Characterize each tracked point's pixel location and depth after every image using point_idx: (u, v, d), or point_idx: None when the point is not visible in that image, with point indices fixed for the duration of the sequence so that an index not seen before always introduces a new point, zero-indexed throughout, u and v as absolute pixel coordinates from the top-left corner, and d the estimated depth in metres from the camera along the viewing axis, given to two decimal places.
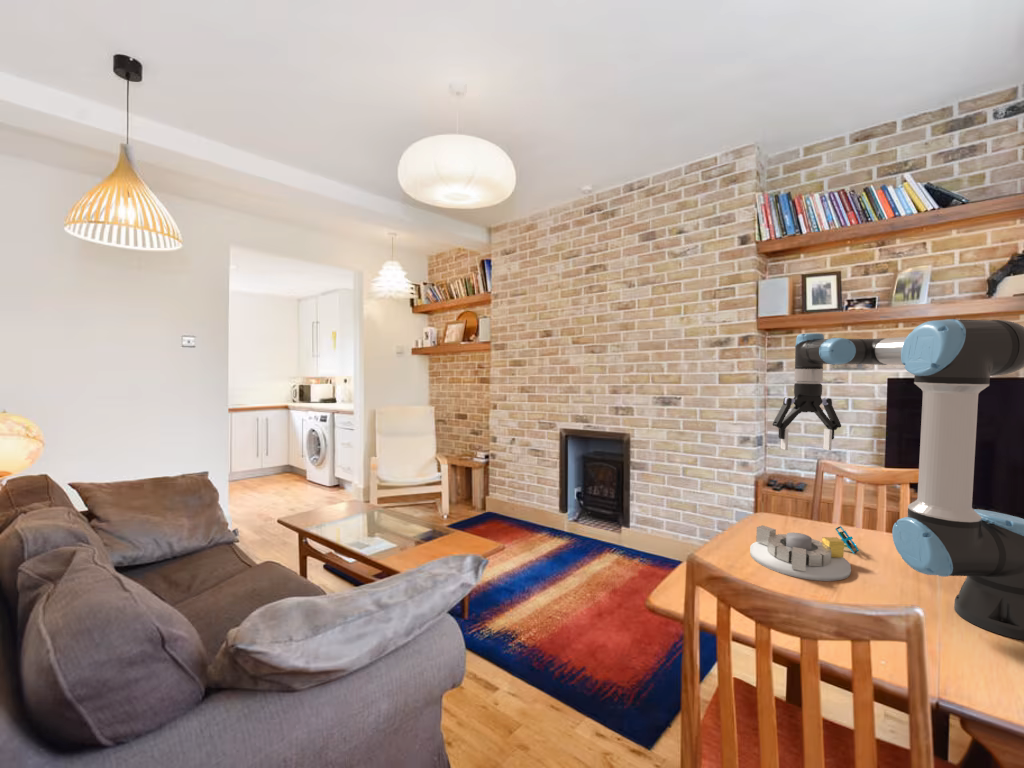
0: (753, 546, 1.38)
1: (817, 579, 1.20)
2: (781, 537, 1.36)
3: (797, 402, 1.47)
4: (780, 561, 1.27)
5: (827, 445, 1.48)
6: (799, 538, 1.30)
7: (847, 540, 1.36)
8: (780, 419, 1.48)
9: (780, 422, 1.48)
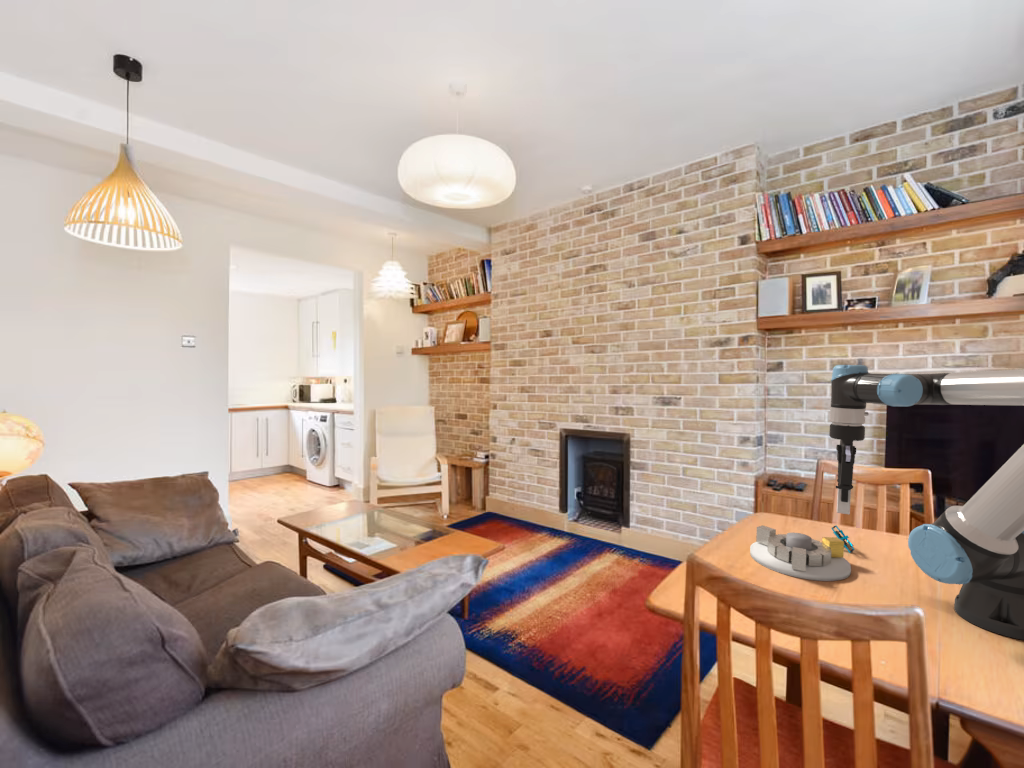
0: (753, 546, 1.38)
1: (817, 579, 1.20)
2: (781, 537, 1.36)
3: None
4: (780, 561, 1.27)
5: None
6: (799, 538, 1.30)
7: (843, 539, 1.36)
8: (838, 473, 1.27)
9: (838, 476, 1.26)
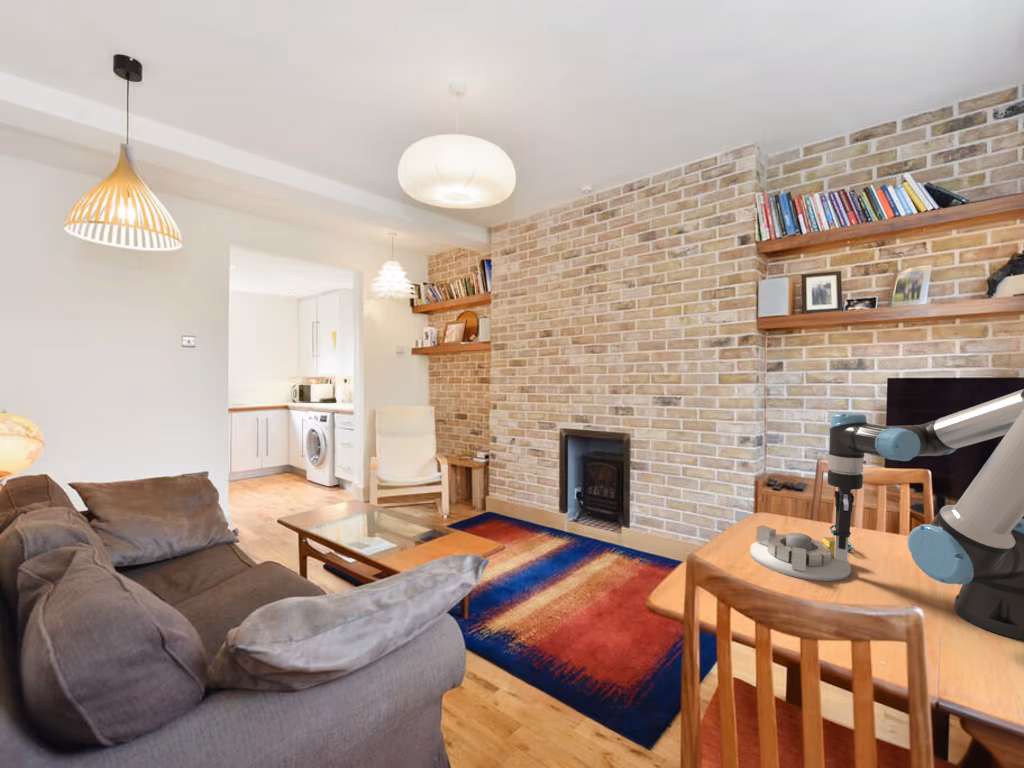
0: (753, 546, 1.38)
1: (817, 579, 1.20)
2: (781, 537, 1.36)
3: None
4: (780, 561, 1.27)
5: None
6: (799, 538, 1.30)
7: None
8: None
9: None
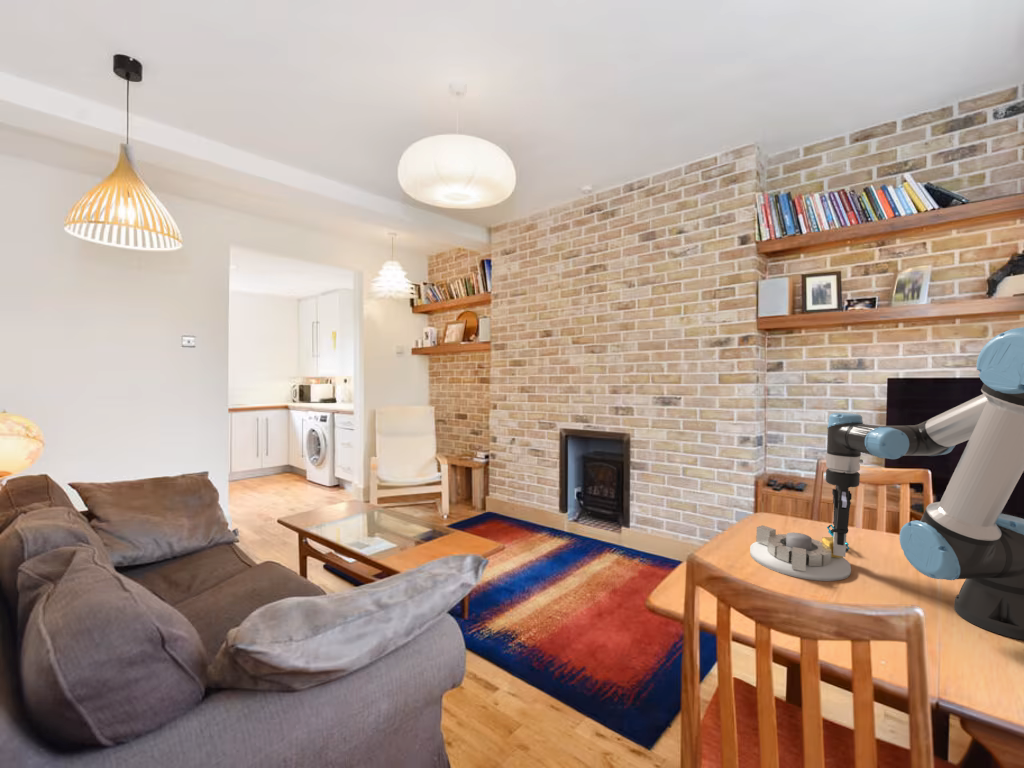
0: (753, 546, 1.38)
1: (817, 579, 1.20)
2: (781, 537, 1.36)
3: None
4: (780, 561, 1.27)
5: None
6: (799, 538, 1.30)
7: None
8: None
9: (833, 519, 1.32)
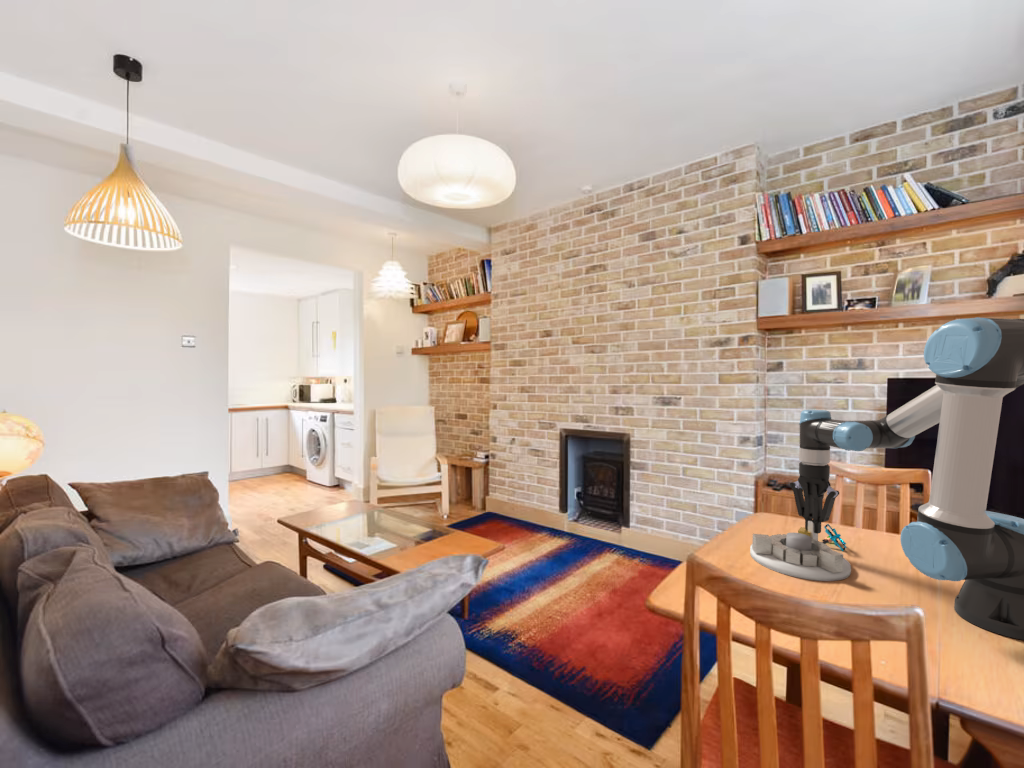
0: None
1: (817, 579, 1.20)
2: (777, 541, 1.33)
3: (800, 483, 1.39)
4: (780, 561, 1.27)
5: None
6: (799, 538, 1.30)
7: (837, 538, 1.38)
8: (797, 507, 1.40)
9: (800, 510, 1.39)
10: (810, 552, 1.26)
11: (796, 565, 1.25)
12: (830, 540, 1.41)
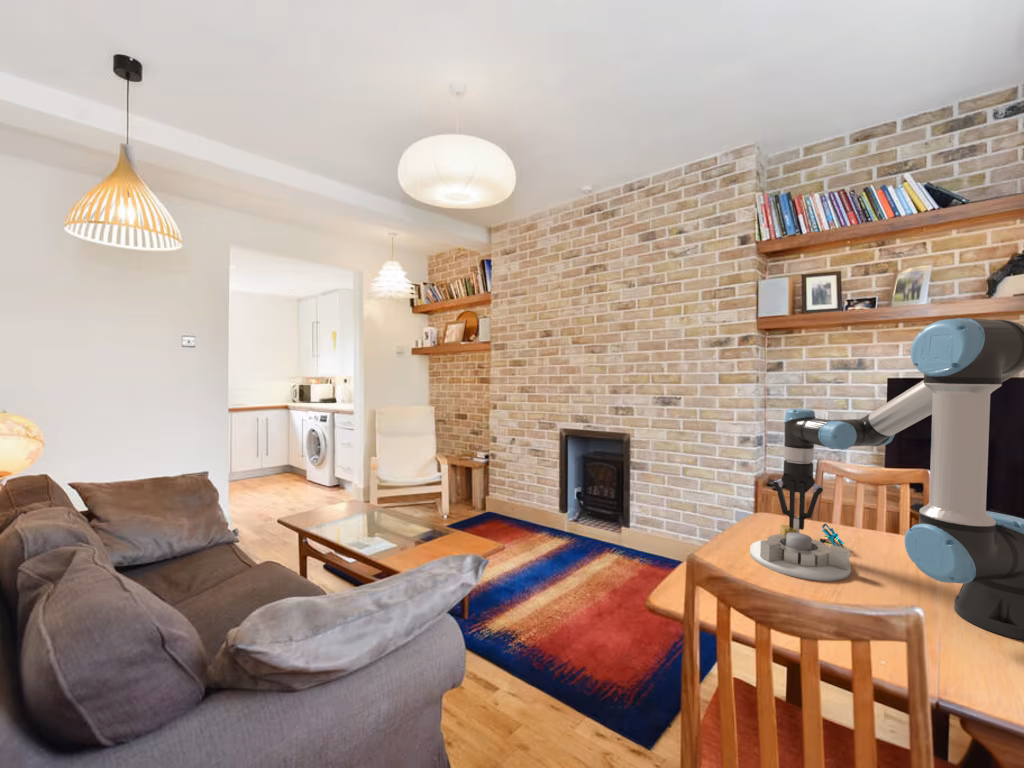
0: (753, 546, 1.38)
1: (817, 579, 1.20)
2: (781, 545, 1.31)
3: (784, 481, 1.40)
4: (780, 561, 1.27)
5: None
6: (799, 538, 1.30)
7: (835, 537, 1.38)
8: (782, 506, 1.41)
9: (784, 508, 1.41)
10: (819, 551, 1.26)
11: (796, 565, 1.25)
12: (828, 540, 1.41)
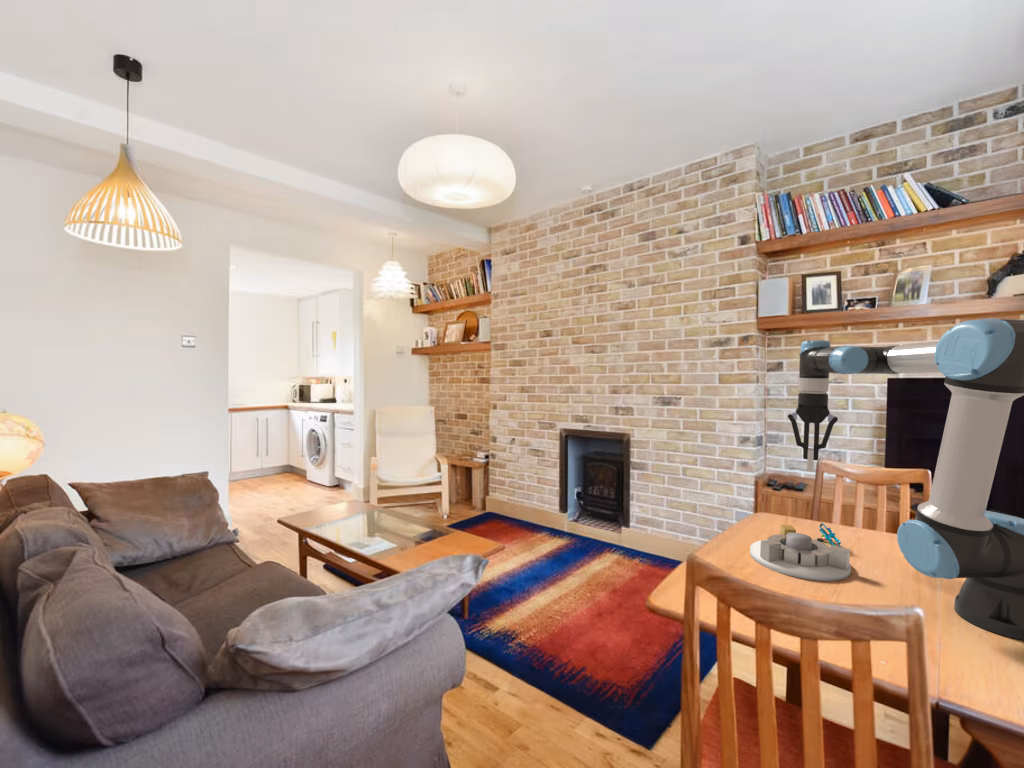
0: (753, 546, 1.38)
1: (817, 579, 1.20)
2: (781, 545, 1.31)
3: (799, 413, 1.42)
4: (780, 561, 1.27)
5: None
6: (799, 538, 1.30)
7: (832, 537, 1.38)
8: (796, 438, 1.42)
9: (798, 440, 1.42)
10: (819, 551, 1.26)
11: (796, 565, 1.25)
12: (825, 539, 1.41)
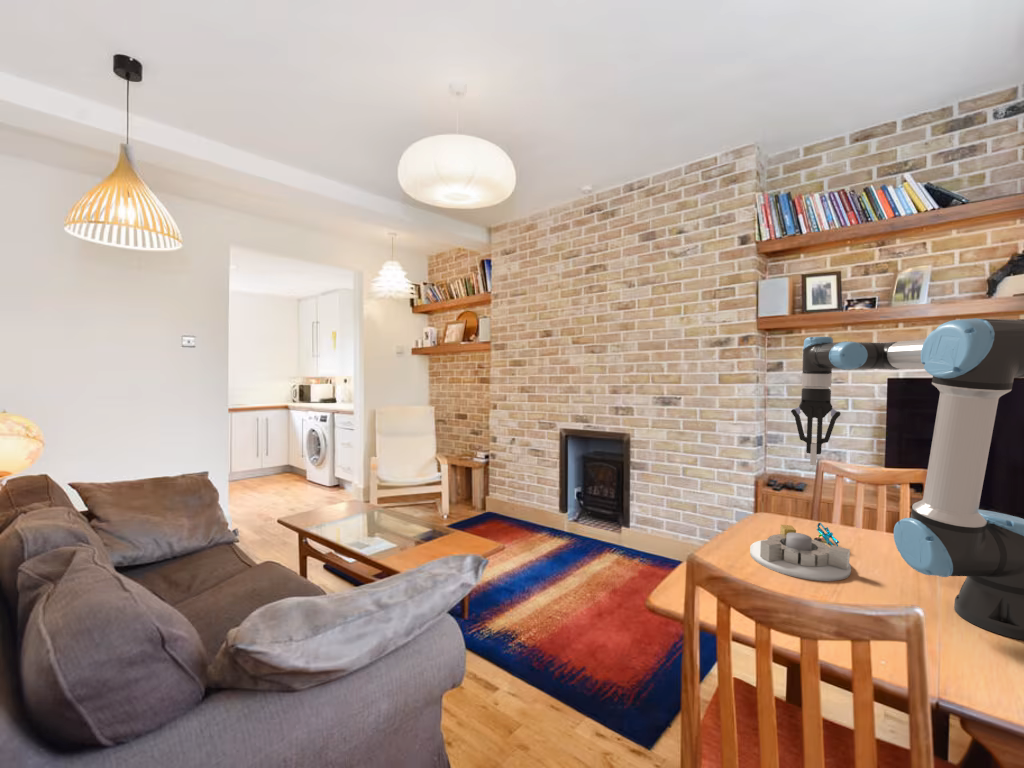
0: (753, 546, 1.38)
1: (817, 579, 1.20)
2: (781, 545, 1.31)
3: (802, 408, 1.44)
4: (780, 561, 1.27)
5: None
6: (799, 538, 1.30)
7: (830, 536, 1.39)
8: (799, 432, 1.45)
9: (801, 435, 1.45)
10: (819, 551, 1.26)
11: (796, 565, 1.25)
12: (823, 539, 1.42)
